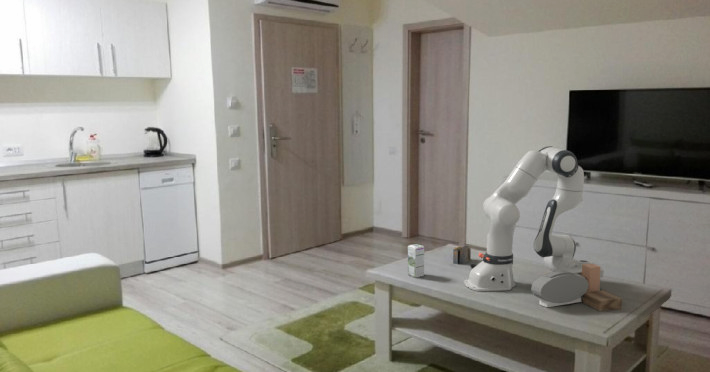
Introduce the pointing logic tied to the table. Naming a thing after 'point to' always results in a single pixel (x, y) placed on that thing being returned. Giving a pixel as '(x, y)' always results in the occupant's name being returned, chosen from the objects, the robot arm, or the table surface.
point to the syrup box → (416, 260)
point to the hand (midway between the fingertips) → (592, 278)
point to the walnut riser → (602, 300)
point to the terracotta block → (592, 276)
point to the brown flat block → (461, 254)
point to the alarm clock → (559, 288)
